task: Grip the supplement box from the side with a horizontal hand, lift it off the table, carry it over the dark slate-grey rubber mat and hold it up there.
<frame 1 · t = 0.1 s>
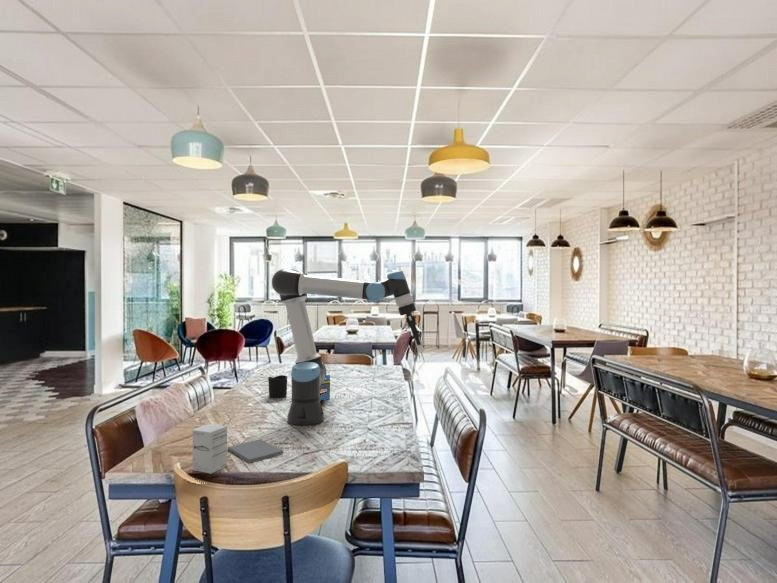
hand: (421, 350, 206), 28 cm above the table, tool tilted 20°, fingers open, 13 cm apart
pen holder: (277, 397, 237), on the table
label tape box: (321, 400, 230), on the table
supplement box: (210, 469, 143), on the table
slate mat: (255, 451, 157), on the table
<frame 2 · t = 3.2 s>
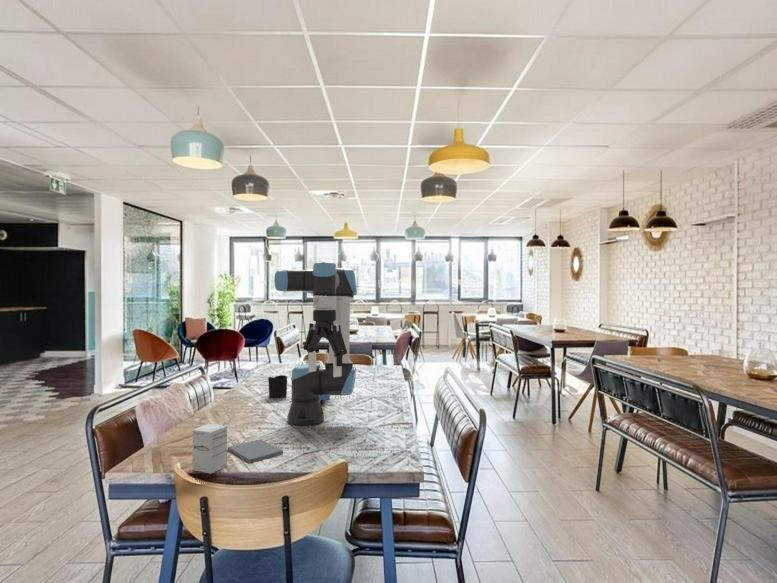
hand: (324, 374, 152), 27 cm above the table, tool pointing down, fingers open, 13 cm apart
nothing on the table moved.
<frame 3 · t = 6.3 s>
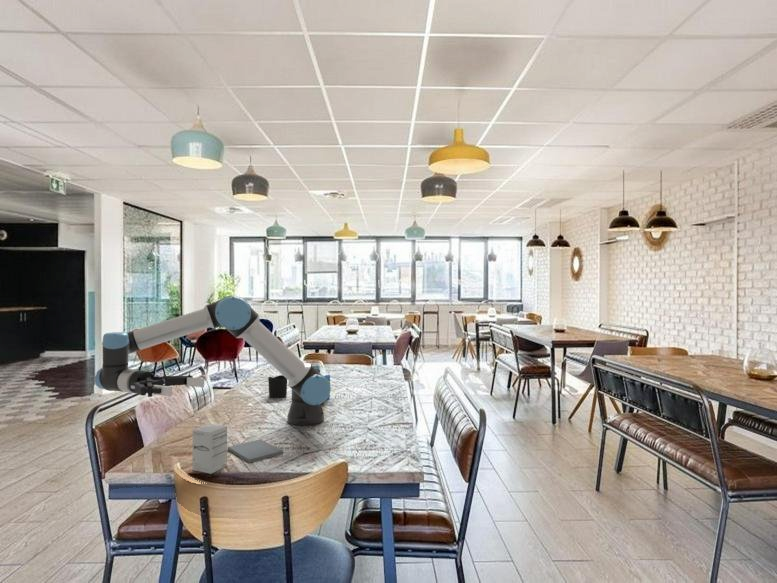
hand: (188, 387, 146), 24 cm above the table, tool horizontal, fingers open, 13 cm apart
nothing on the table moved.
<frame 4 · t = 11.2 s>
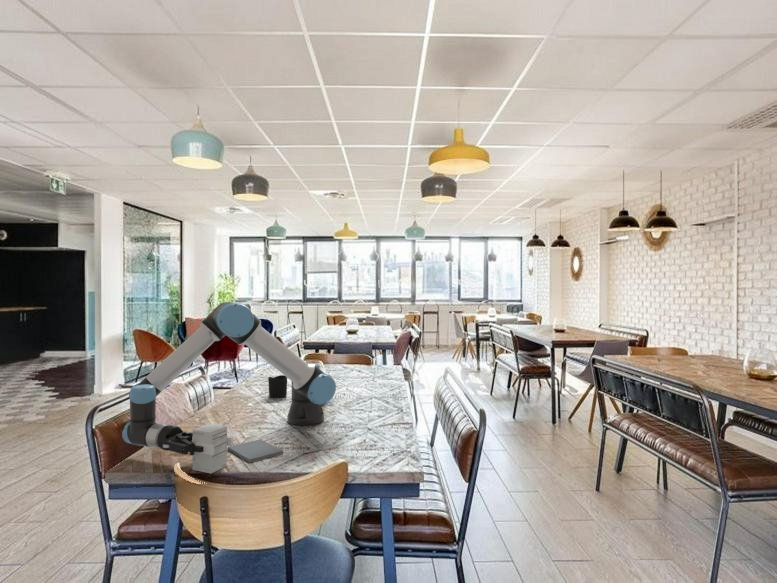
hand: (222, 445, 141), 8 cm above the table, tool horizontal, fingers closed on supplement box, 7 cm apart
supplement box: (210, 468, 143), on the table, touching gripper
everything else where it was.
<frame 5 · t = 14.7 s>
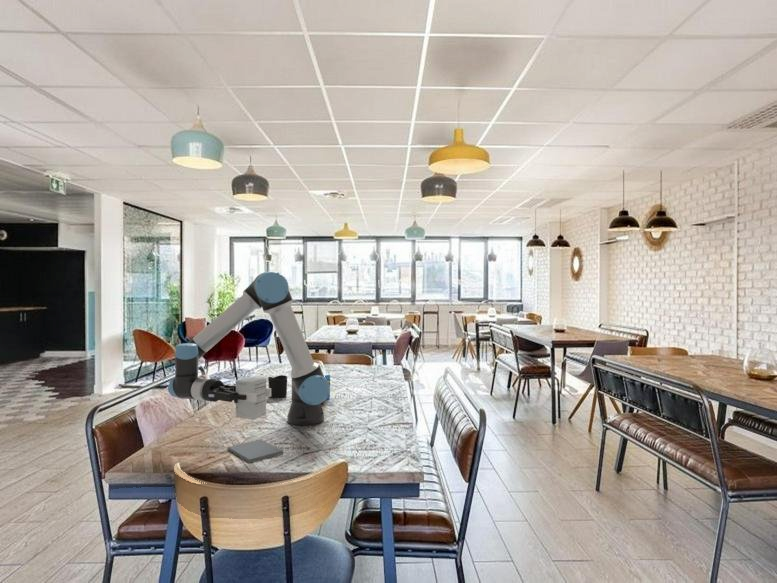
hand: (263, 395, 154), 20 cm above the table, tool horizontal, fingers closed on supplement box, 7 cm apart
supplement box: (251, 416, 156), point 12 cm above the table, touching gripper
everything else where it was.
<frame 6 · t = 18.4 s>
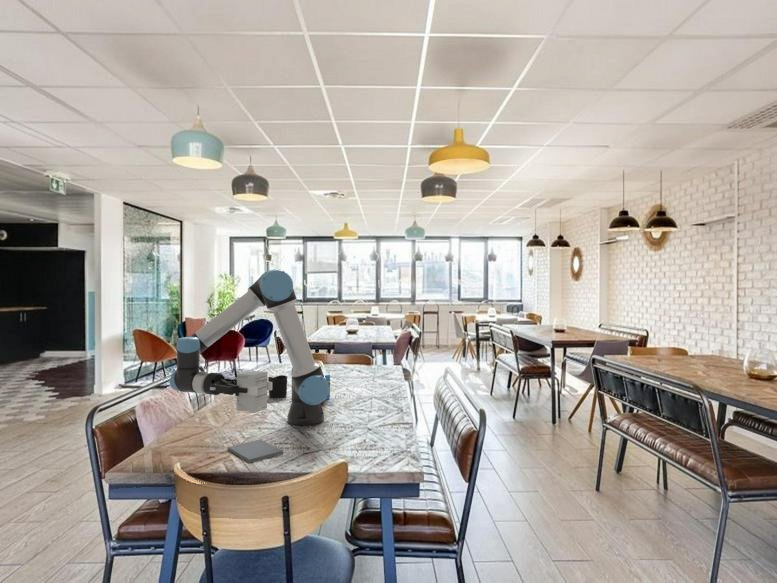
hand: (264, 388, 155), 22 cm above the table, tool horizontal, fingers closed on supplement box, 7 cm apart
supplement box: (252, 410, 157), point 14 cm above the table, touching gripper
everything else where it was.
at the end: the gripper is holding supplement box; supplement box inside the target area on the slate mat (1.1 cm from its centre), point 14.2 cm above the slate mat's base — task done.
